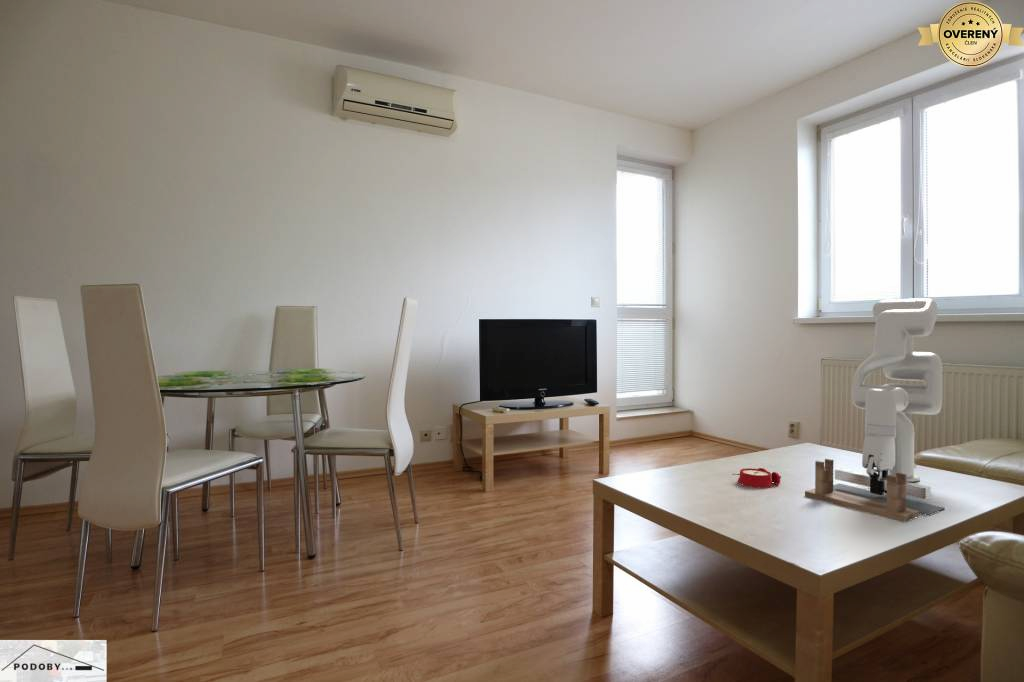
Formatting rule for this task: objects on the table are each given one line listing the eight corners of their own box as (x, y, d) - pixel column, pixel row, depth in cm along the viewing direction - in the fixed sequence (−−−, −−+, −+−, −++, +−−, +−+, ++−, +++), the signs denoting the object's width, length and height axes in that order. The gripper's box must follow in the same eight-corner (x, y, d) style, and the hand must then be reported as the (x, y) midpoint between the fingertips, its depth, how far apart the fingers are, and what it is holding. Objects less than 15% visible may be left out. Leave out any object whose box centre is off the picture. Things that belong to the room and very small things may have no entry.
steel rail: (840, 477, 168) (840, 468, 168) (930, 497, 148) (930, 486, 147) (834, 479, 167) (834, 469, 166) (925, 499, 146) (925, 488, 146)
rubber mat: (839, 485, 172) (839, 483, 172) (944, 509, 148) (944, 507, 148) (822, 489, 167) (822, 488, 167) (928, 515, 143) (928, 514, 143)
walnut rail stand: (819, 492, 164) (820, 456, 164) (918, 516, 142) (919, 475, 142) (804, 496, 160) (805, 459, 160) (904, 522, 138) (904, 480, 138)
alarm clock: (727, 470, 176) (762, 457, 181) (731, 488, 177) (765, 474, 182) (751, 479, 166) (788, 464, 171) (755, 498, 167) (791, 482, 172)
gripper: (880, 426, 164) (879, 485, 164) (851, 430, 156) (851, 493, 156) (908, 429, 158) (907, 492, 158) (880, 435, 149) (879, 500, 150)
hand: (879, 492), depth 157 cm, fingers closed on steel rail, 3 cm apart
